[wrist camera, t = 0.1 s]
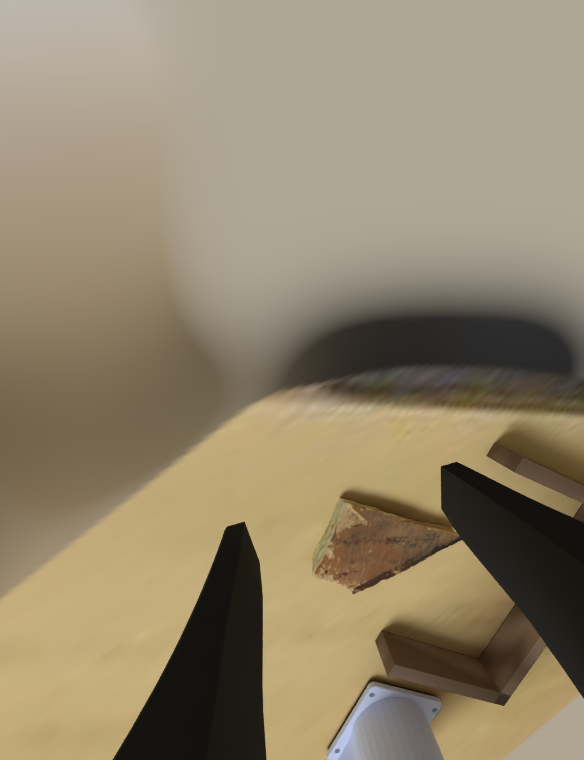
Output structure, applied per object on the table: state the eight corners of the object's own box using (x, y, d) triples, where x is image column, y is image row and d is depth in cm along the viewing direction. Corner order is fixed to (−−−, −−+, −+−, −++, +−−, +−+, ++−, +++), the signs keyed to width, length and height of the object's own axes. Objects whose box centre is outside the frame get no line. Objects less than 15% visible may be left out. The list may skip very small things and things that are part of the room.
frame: (482, 671, 27) (503, 705, 25) (375, 641, 25) (387, 675, 22) (602, 493, 24) (640, 512, 22) (494, 442, 22) (523, 457, 20)
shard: (453, 524, 24) (468, 540, 22) (414, 597, 25) (426, 617, 23) (340, 488, 22) (346, 502, 20) (303, 568, 23) (306, 588, 21)
